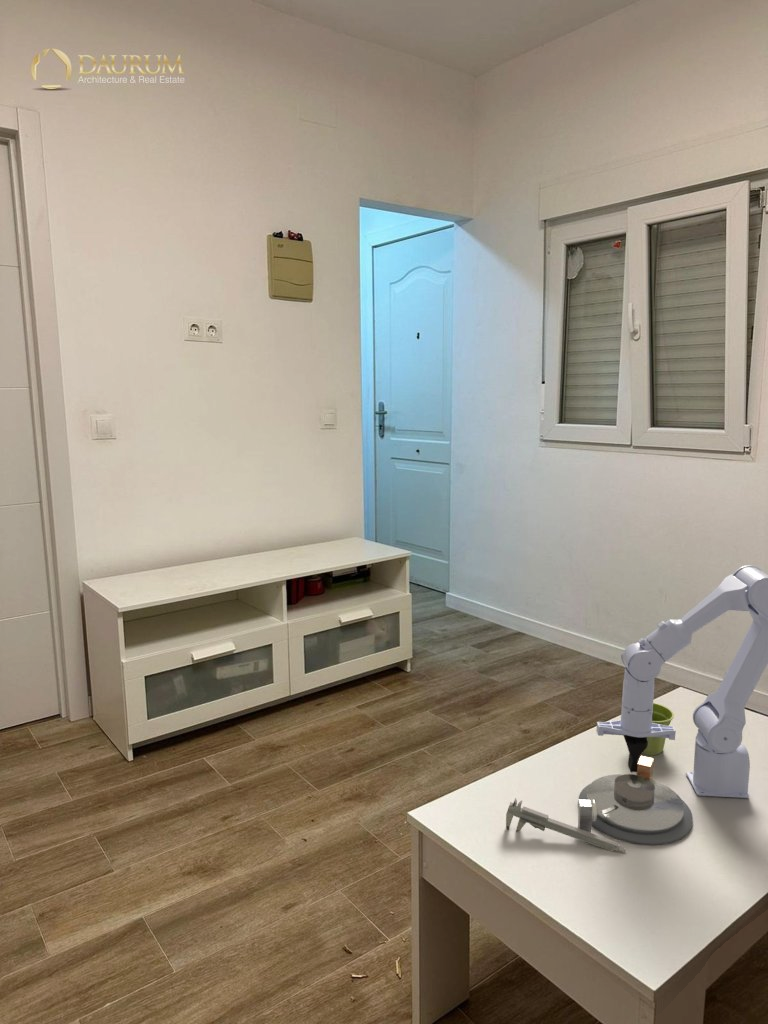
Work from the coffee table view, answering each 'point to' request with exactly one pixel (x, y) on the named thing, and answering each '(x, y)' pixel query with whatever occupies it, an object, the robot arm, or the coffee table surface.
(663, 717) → the plant pot
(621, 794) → the cover
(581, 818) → the block
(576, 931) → the coffee table surface
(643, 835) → the plinth
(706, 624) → the robot arm
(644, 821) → the turntable
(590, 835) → the caliper
